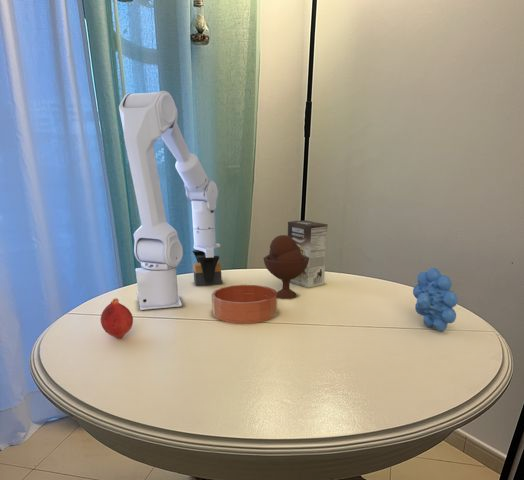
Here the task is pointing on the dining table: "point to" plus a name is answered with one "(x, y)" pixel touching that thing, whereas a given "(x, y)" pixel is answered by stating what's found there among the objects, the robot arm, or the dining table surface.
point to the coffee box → (310, 250)
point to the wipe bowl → (244, 303)
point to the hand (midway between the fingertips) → (206, 278)
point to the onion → (116, 319)
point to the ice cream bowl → (285, 263)
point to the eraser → (200, 279)
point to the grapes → (435, 299)
